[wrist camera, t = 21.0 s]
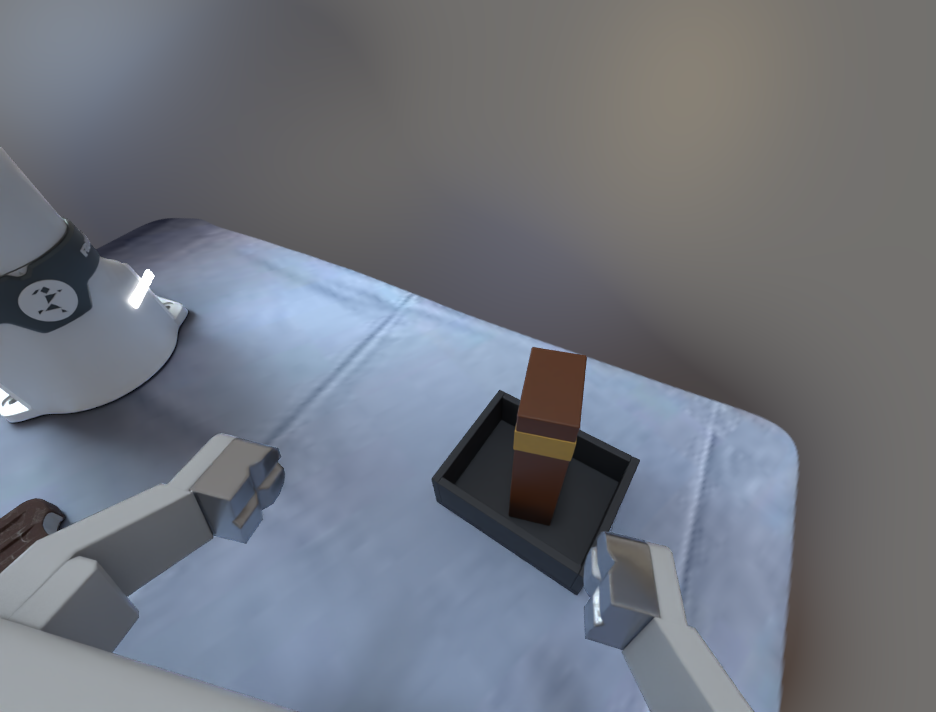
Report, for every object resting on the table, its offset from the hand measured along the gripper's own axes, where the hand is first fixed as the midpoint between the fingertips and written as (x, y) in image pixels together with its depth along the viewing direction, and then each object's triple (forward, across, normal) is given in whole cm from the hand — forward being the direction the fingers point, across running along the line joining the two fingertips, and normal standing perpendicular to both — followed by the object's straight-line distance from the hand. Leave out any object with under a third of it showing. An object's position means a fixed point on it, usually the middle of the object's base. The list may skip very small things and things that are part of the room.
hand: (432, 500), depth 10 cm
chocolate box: (+15, -6, +19) cm, 25 cm away
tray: (+15, -6, +19) cm, 25 cm away
